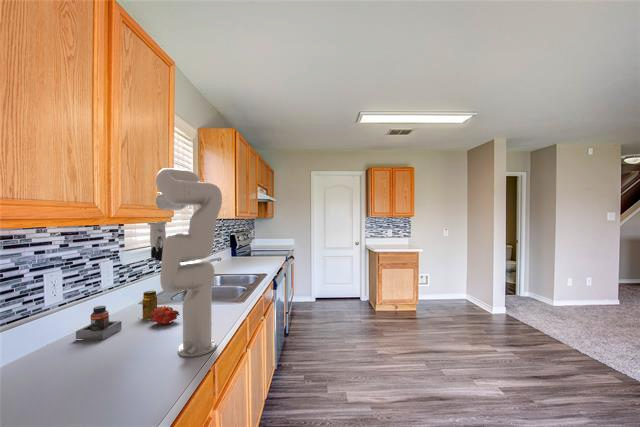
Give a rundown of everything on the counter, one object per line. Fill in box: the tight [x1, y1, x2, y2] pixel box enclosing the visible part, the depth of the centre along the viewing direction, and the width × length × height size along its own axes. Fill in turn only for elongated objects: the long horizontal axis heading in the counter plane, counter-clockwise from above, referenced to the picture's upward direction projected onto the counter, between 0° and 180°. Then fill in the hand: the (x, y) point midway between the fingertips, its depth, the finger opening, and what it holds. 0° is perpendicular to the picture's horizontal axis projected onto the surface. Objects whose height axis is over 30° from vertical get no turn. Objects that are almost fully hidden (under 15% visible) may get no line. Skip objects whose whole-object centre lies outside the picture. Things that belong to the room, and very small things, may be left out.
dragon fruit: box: [150, 305, 181, 326], centre depth 129 cm, size 8×8×12 cm
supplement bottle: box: [90, 305, 110, 330], centre depth 118 cm, size 6×6×11 cm
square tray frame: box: [75, 320, 123, 341], centre depth 118 cm, size 10×10×4 cm
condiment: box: [139, 290, 158, 321], centre depth 139 cm, size 7×8×12 cm
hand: (157, 258), depth 133 cm, fingers open, 9 cm apart
